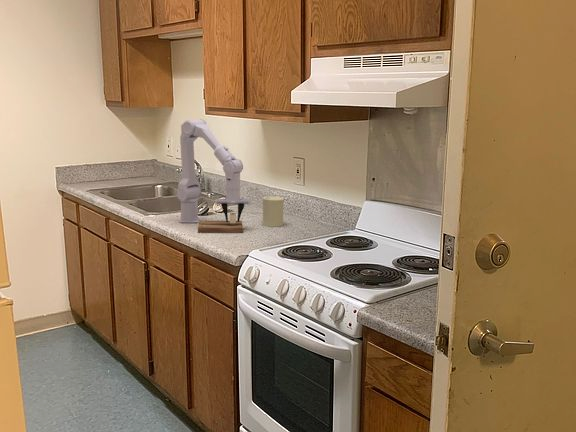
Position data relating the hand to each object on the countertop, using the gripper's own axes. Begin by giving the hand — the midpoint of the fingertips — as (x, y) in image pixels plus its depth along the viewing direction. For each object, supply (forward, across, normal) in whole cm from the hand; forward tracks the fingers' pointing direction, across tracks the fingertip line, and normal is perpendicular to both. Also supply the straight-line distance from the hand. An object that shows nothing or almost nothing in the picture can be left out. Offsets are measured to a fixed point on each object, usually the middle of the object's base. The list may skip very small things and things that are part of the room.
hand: (232, 221), depth 247 cm
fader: (+1, 0, 0) cm, 1 cm away
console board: (+3, -5, 0) cm, 6 cm away
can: (+3, +18, +9) cm, 20 cm away
